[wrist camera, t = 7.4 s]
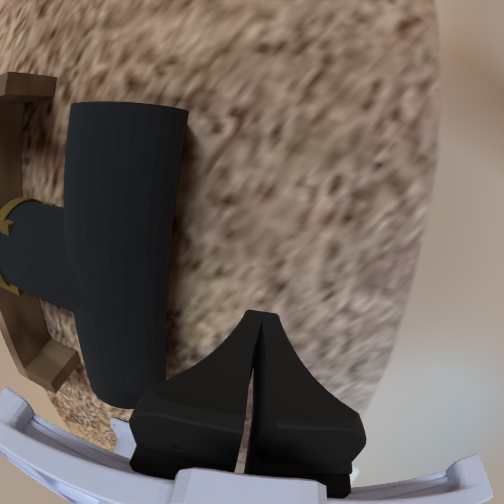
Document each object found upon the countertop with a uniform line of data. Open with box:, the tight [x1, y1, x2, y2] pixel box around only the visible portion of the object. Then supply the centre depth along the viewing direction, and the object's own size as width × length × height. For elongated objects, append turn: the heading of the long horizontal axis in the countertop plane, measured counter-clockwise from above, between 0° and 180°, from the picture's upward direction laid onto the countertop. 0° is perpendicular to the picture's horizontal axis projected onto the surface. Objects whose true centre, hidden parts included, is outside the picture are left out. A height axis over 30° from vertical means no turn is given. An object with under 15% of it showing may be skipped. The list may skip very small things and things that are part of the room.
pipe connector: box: [0, 102, 189, 409], centre depth 12 cm, size 12×5×15 cm
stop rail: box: [0, 72, 80, 394], centre depth 13 cm, size 20×4×4 cm, turn 173°
